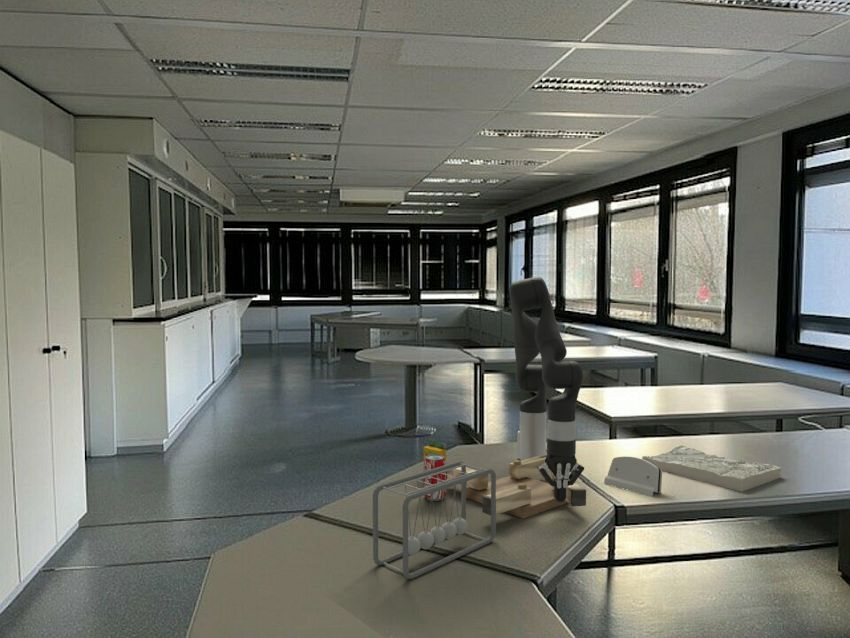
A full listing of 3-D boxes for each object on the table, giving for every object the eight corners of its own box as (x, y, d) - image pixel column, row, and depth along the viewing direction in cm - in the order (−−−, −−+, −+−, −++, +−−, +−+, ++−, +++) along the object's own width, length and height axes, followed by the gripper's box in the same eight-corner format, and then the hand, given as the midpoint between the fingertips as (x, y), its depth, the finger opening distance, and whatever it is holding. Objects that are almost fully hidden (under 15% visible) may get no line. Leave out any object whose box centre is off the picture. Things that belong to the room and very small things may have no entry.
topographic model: (741, 493, 185) (742, 476, 185) (642, 466, 213) (642, 451, 212) (780, 478, 198) (781, 463, 198) (682, 455, 226) (682, 441, 226)
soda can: (434, 493, 184) (434, 452, 184) (450, 498, 180) (450, 456, 179) (419, 498, 180) (419, 456, 179) (435, 503, 175) (435, 461, 175)
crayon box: (423, 477, 200) (423, 441, 199) (429, 475, 202) (429, 439, 201) (440, 482, 195) (440, 445, 194) (446, 479, 197) (446, 443, 196)
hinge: (602, 483, 193) (609, 451, 195) (611, 485, 196) (617, 453, 198) (652, 496, 180) (659, 462, 182) (660, 498, 183) (667, 464, 185)
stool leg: (551, 489, 179) (551, 472, 179) (564, 488, 180) (564, 471, 180) (572, 506, 165) (572, 488, 165) (586, 505, 165) (586, 487, 165)
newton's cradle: (405, 583, 128) (405, 497, 127) (372, 567, 136) (371, 486, 135) (496, 540, 150) (496, 467, 149) (463, 529, 157) (463, 458, 156)
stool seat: (415, 495, 182) (415, 469, 181) (516, 467, 210) (516, 445, 209) (496, 528, 157) (496, 498, 157) (598, 491, 185) (599, 466, 185)
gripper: (542, 440, 161) (541, 507, 162) (590, 438, 164) (589, 504, 165) (532, 434, 169) (531, 497, 169) (578, 432, 171) (577, 494, 172)
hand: (560, 500), depth 167 cm, fingers closed
